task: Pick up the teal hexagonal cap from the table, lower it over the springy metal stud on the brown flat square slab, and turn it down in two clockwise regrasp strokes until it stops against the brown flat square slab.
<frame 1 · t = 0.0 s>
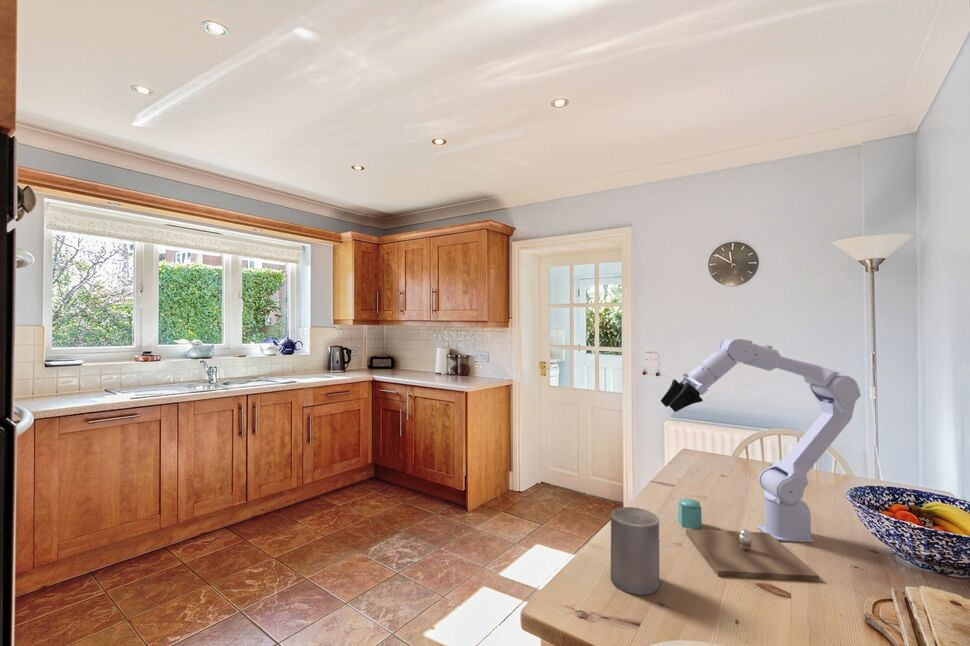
hand: (667, 406, 118), 32 cm above the table, fingers open, 7 cm apart
stud: (745, 539, 104), point 4 cm above the table, slide at 0.0 cm
brown flat square slab: (745, 555, 104), on the table
cap: (689, 524, 121), on the table
pillar candle: (635, 583, 93), on the table
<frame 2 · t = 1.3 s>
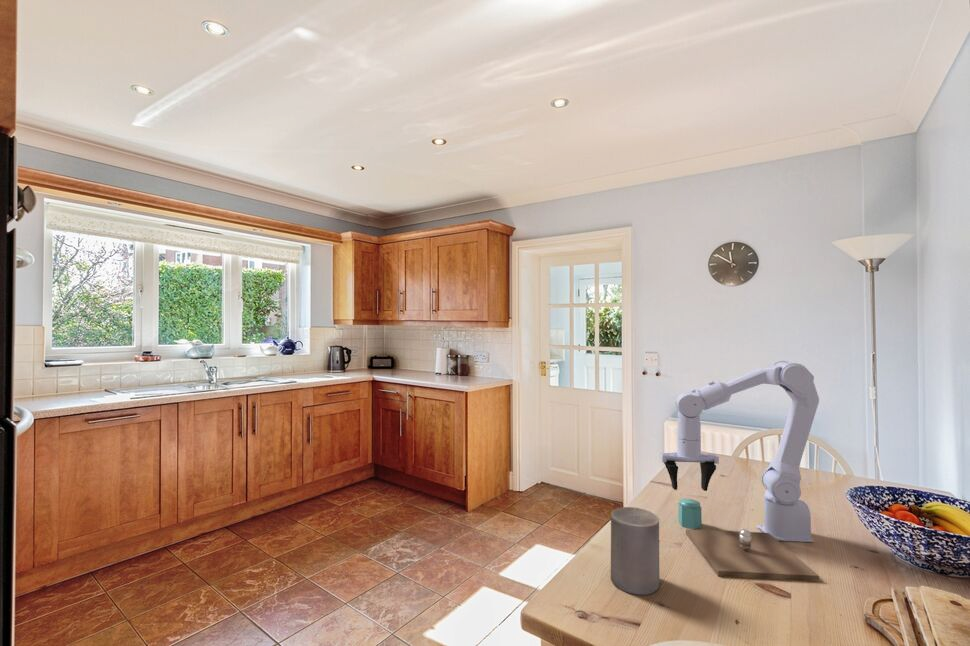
hand: (689, 489, 121), 9 cm above the table, fingers open, 7 cm apart
nothing on the table moved.
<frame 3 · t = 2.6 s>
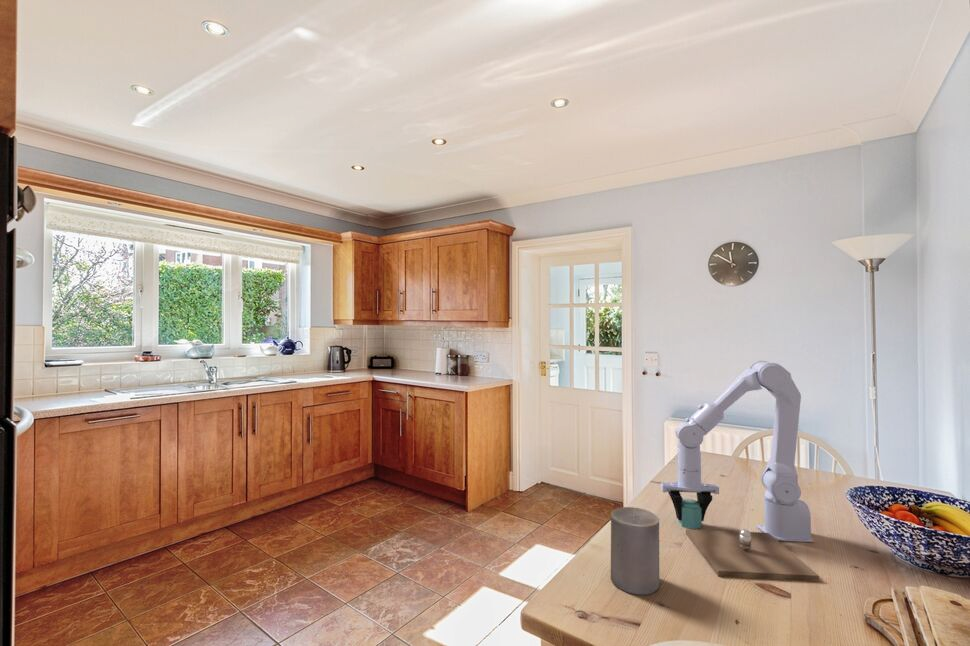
hand: (689, 519, 121), 1 cm above the table, fingers closed on cap, 5 cm apart
cap: (689, 524, 121), on the table, touching gripper
everything else where it was.
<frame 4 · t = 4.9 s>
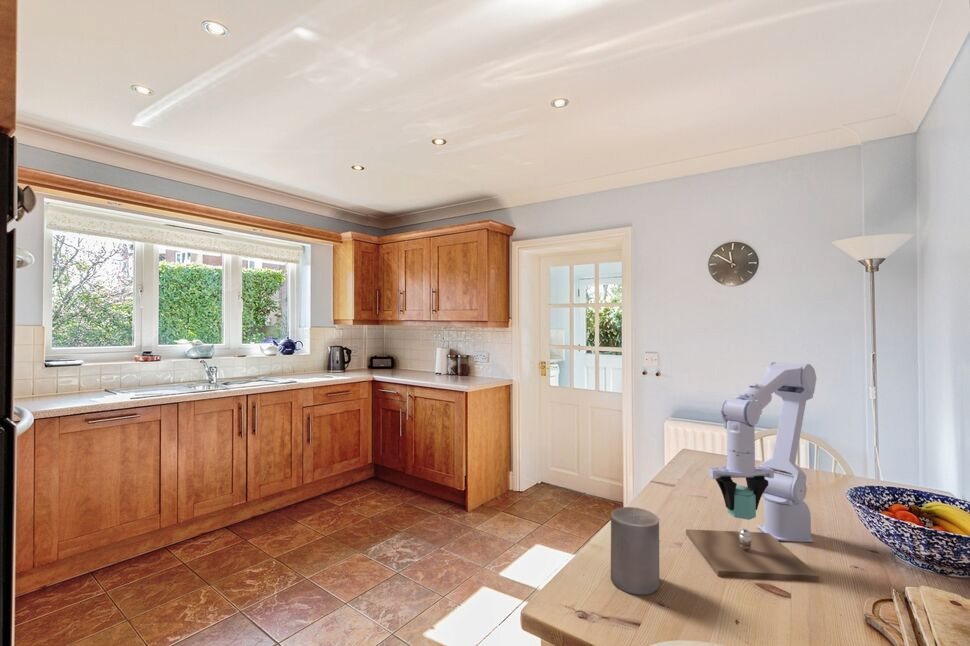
hand: (741, 508, 105), 10 cm above the table, fingers closed on cap, 5 cm apart
cap: (741, 514, 105), point 9 cm above the table, touching gripper
everything else where it was.
when the fingers open (3 cm above the table, at t = 7.2 s): cap stays where it is, resting on brown flat square slab.
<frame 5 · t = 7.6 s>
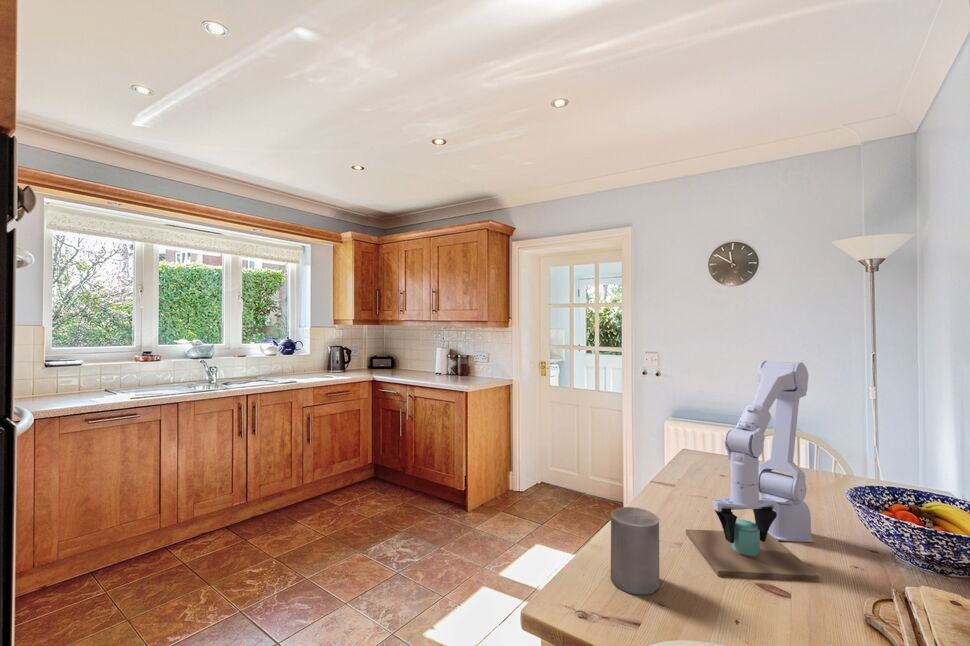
hand: (745, 540, 104), 3 cm above the table, fingers open, 7 cm apart
cap: (745, 550, 104), point 1 cm above the table, touching brown flat square slab
everything else where it was.
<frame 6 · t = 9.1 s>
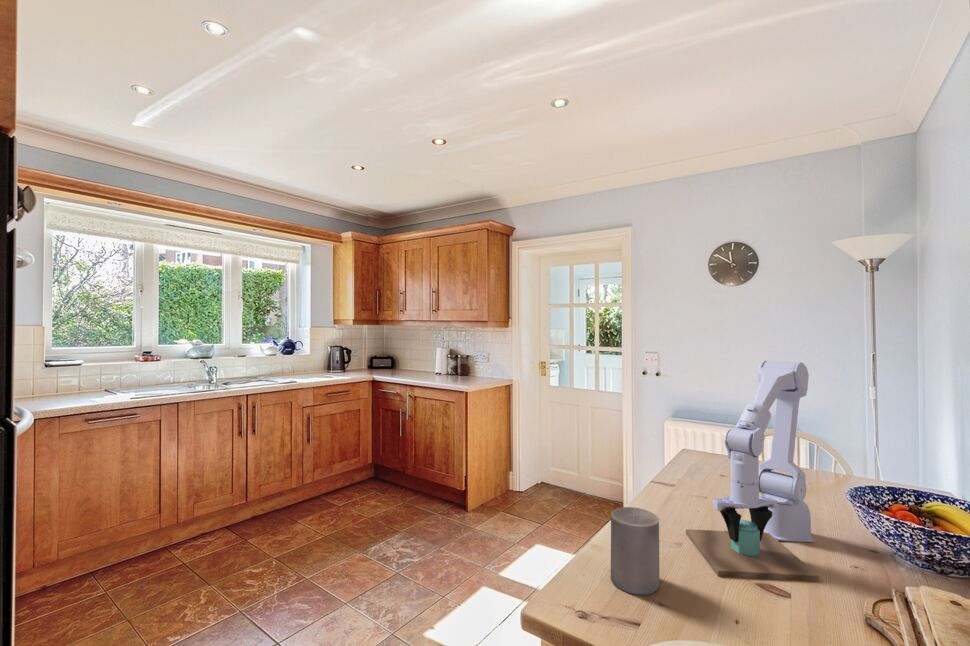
hand: (745, 539, 104), 4 cm above the table, fingers closed on cap, 5 cm apart
cap: (745, 550, 104), point 1 cm above the table, touching gripper, brown flat square slab
everything else where it was.
when the fingers open (2 cm above the table, at t = 10.5 s): cap stays where it is, resting on brown flat square slab.
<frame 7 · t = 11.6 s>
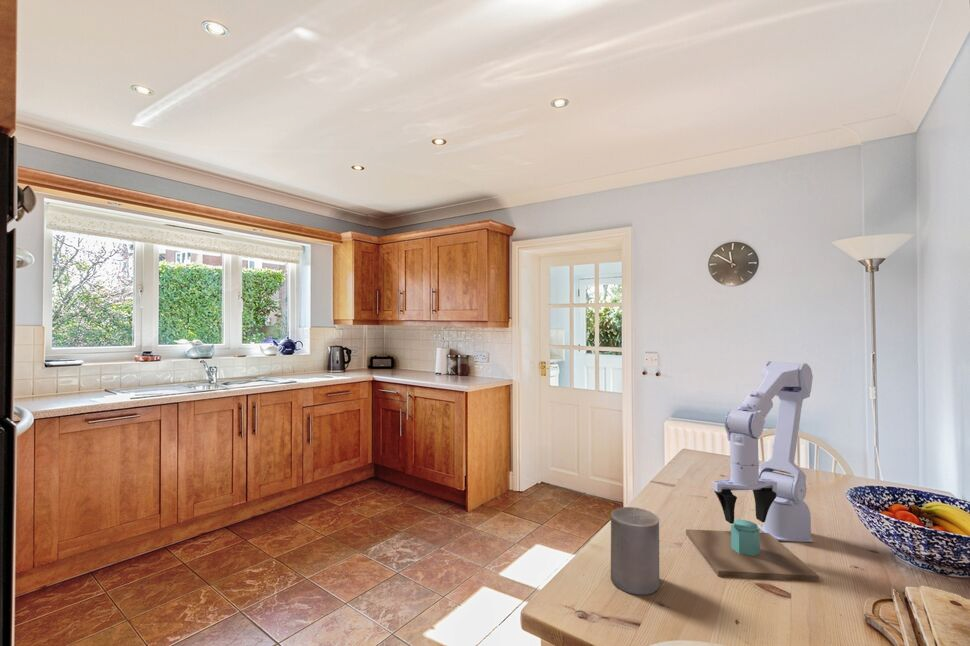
hand: (745, 521, 105), 8 cm above the table, fingers open, 7 cm apart
cap: (745, 550, 104), point 1 cm above the table, touching brown flat square slab
everything else where it was.
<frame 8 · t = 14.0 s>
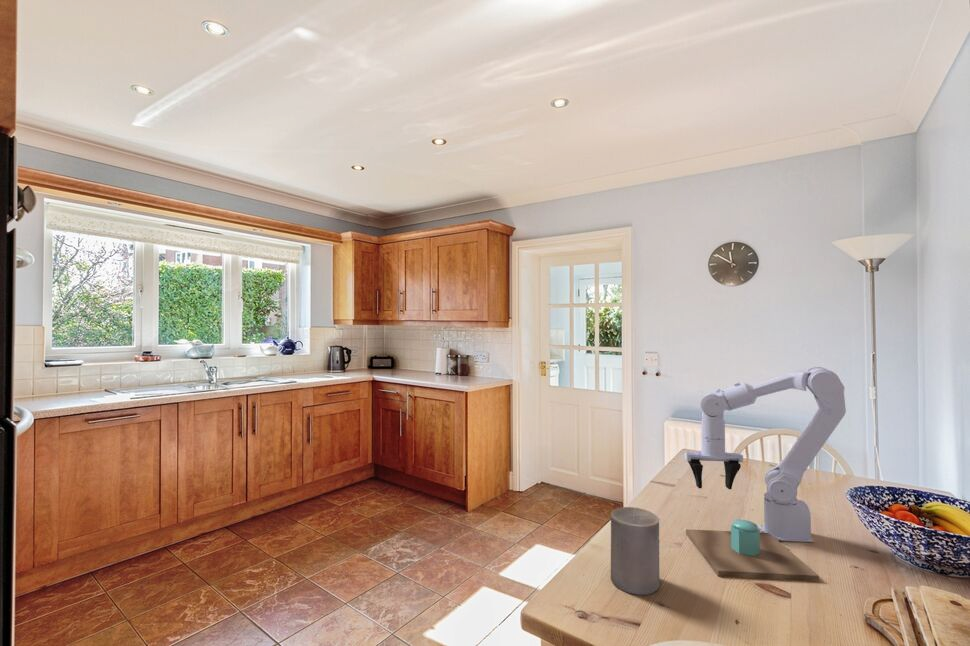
hand: (713, 487, 122), 9 cm above the table, fingers open, 7 cm apart
nothing on the table moved.
at the end: cap 0.0 cm from the stud (horizontally); cap point 1.2 cm above the table; the gripper is holding nothing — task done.
